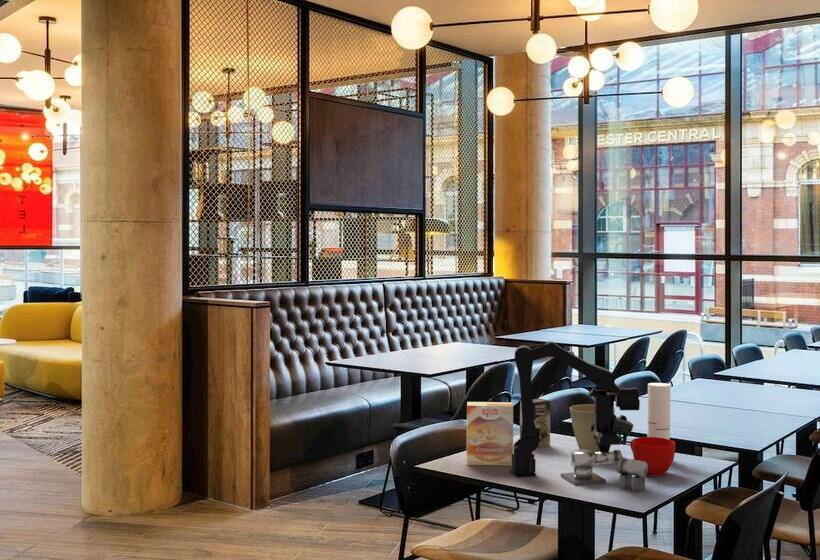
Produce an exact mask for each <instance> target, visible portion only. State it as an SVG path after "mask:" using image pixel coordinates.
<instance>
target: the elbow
mask: <svg viewBox="0 0 820 560" xmlns="http://www.w3.org/2000/svg"><path fill="white" fill-rule="evenodd" d="M620 457H623V454H622V452H621V450H620V449H614V450H613V451H612V450H611V451H610V450H609V452H594V451H591V450H583V449H579V448H578V449H573V450H570V466H572V467H573V468H574V467H576V468H596V465H607V464H609V465H611V464H614V465H616V466H617V461H618V459H619V458H620Z"/></svg>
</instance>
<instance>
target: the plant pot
mask: <svg viewBox="0 0 820 560" xmlns="http://www.w3.org/2000/svg"><path fill="white" fill-rule="evenodd" d="M615 411H616V407H614V413H615ZM594 412H595V404H576V405H572V406H570V407H569V413H570V418H571V424H572V430H573V433H574V437H575V440H576V444H577V446H578V450H579V449H583V450H591V451H594V452H599V449H598V447H597V444H596V442H595V439H594V437H593V436H594V435H596V432H595V430H593V432H591V431H590V430H589V424H590V423H591V422H592V421H595V416H594Z"/></svg>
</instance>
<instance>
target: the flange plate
mask: <svg viewBox="0 0 820 560" xmlns="http://www.w3.org/2000/svg"><path fill="white" fill-rule="evenodd" d="M593 468H594V467H593ZM593 468H576V467H573V472H562V473H560V477H561V478H562V479H564V480H565V479H566V481H567V482H569V483H570V484H572V485H574V486H581V485H584V484H586V485H595V483H599V484H606V483H607V480H606V479H605V478H604V477H603V476H600V475H599V474H596V473H594V472H593ZM584 486H585V485H584Z"/></svg>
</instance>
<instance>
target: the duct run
mask: <svg viewBox="0 0 820 560" xmlns="http://www.w3.org/2000/svg"><path fill="white" fill-rule="evenodd" d="M616 471H617V474H619V490H621V491H622V490H623V491H627V490H628V489H630V488H632V490H631V492H632V493H637V494H638V493H640V492H642V491H644V490H645V489H646V476H647V475H646V474H647V471H648V465H647V463H646V462H644V461H638V460H634V459H632V458H626V457H623V456H622V457H620V458H619V459H618V461H617V465H616Z"/></svg>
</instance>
